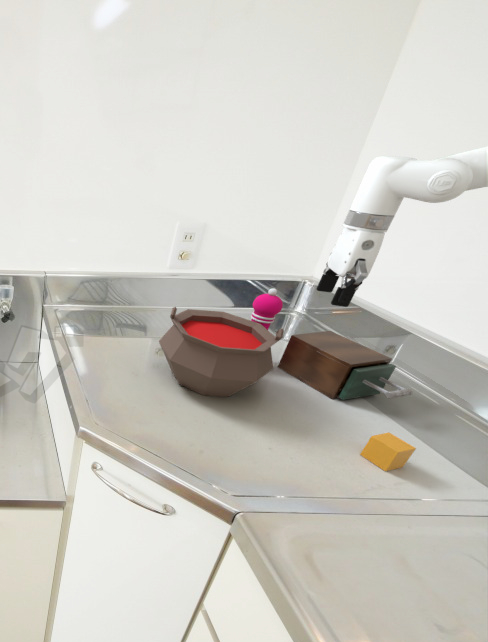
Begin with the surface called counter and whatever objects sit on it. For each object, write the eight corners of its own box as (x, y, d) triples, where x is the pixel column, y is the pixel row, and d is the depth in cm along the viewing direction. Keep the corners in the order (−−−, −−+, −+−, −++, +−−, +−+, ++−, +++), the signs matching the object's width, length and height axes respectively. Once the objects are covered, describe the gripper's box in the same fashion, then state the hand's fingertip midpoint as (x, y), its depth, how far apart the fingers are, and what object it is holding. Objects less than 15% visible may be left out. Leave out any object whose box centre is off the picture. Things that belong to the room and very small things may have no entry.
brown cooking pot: (259, 371, 105) (284, 310, 97) (264, 423, 86) (297, 353, 78) (158, 347, 114) (174, 289, 106) (143, 389, 95) (161, 323, 87)
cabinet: (372, 392, 98) (392, 358, 94) (332, 399, 95) (351, 364, 91) (314, 361, 110) (330, 330, 106) (277, 367, 107) (291, 334, 103)
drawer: (410, 409, 91) (429, 381, 88) (372, 416, 88) (390, 387, 85) (324, 364, 108) (337, 338, 104) (290, 369, 105) (302, 343, 101)
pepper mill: (233, 367, 106) (262, 291, 96) (226, 354, 112) (252, 281, 102) (264, 371, 105) (297, 295, 95) (255, 358, 111) (285, 285, 101)
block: (376, 450, 80) (389, 432, 78) (402, 467, 76) (416, 448, 74) (359, 454, 79) (371, 435, 77) (385, 471, 75) (398, 452, 73)
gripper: (409, 232, 80) (366, 314, 89) (370, 216, 95) (336, 288, 103) (363, 227, 82) (325, 308, 91) (331, 212, 97) (301, 284, 105)
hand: (331, 298), depth 97 cm, fingers open, 9 cm apart
